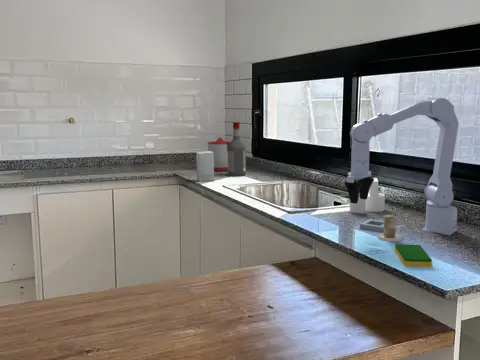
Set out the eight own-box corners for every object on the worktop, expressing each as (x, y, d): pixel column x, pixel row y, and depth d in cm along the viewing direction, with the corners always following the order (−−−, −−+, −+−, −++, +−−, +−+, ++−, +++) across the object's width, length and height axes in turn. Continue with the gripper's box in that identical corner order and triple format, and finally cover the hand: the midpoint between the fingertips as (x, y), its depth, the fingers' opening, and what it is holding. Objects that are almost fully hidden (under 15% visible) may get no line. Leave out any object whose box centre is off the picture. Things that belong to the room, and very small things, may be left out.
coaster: (406, 238, 161) (406, 235, 161) (397, 244, 155) (397, 241, 155) (382, 234, 166) (382, 231, 166) (372, 239, 159) (372, 237, 159)
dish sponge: (419, 252, 148) (419, 244, 148) (431, 268, 135) (432, 259, 134) (394, 251, 149) (394, 243, 148) (404, 267, 135) (404, 259, 135)
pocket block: (397, 228, 173) (398, 222, 172) (386, 234, 165) (387, 229, 164) (364, 223, 180) (365, 217, 179) (352, 229, 172) (352, 223, 172)
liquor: (230, 177, 281) (230, 123, 276) (227, 174, 290) (226, 122, 285) (246, 176, 284) (246, 122, 278) (242, 173, 292) (242, 121, 287)
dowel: (397, 236, 160) (398, 216, 159) (392, 238, 158) (393, 218, 157) (386, 234, 163) (387, 214, 162) (381, 236, 160) (382, 216, 159)
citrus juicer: (226, 173, 296) (225, 138, 293) (202, 170, 306) (201, 137, 302) (240, 169, 309) (240, 136, 306) (217, 167, 319) (217, 135, 315)
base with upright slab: (385, 212, 196) (386, 181, 194) (361, 211, 198) (362, 181, 196) (383, 207, 205) (384, 178, 203) (360, 206, 207) (361, 177, 205)
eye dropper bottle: (356, 211, 198) (356, 181, 196) (366, 214, 194) (367, 183, 192) (347, 212, 196) (348, 182, 194) (358, 215, 191) (359, 184, 189)
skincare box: (211, 179, 275) (210, 150, 272) (214, 181, 268) (214, 152, 266) (196, 180, 272) (195, 151, 269) (199, 182, 266) (198, 152, 263)
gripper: (358, 157, 173) (356, 196, 176) (339, 161, 162) (337, 203, 164) (377, 158, 169) (376, 198, 171) (359, 163, 158) (358, 206, 160)
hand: (358, 201), depth 168 cm, fingers open, 7 cm apart
